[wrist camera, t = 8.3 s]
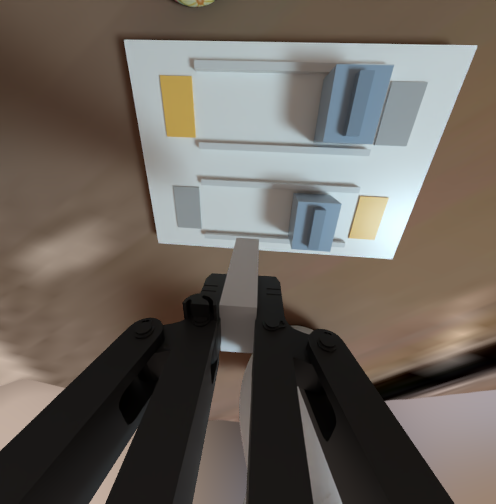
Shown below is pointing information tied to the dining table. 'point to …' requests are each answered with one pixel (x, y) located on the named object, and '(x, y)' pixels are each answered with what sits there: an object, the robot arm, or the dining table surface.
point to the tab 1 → (313, 221)
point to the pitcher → (320, 475)
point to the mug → (195, 2)
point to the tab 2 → (352, 103)
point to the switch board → (284, 138)
